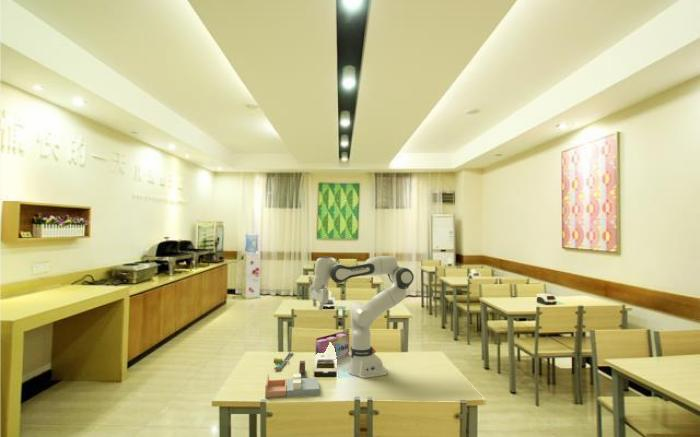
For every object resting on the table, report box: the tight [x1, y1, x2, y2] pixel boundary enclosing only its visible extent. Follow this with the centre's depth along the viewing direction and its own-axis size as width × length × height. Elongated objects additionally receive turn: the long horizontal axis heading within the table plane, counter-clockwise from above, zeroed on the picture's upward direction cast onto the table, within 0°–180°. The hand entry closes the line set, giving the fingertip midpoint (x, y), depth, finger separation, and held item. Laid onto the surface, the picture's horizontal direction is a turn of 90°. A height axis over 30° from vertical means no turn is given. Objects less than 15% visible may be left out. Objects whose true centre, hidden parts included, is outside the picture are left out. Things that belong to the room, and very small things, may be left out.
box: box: [264, 374, 287, 399], centre depth 174 cm, size 10×13×6 cm
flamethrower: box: [273, 351, 294, 371], centre depth 213 cm, size 29×3×10 cm
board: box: [286, 377, 320, 398], centre depth 176 cm, size 16×13×3 cm
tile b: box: [293, 379, 301, 389], centre depth 172 cm, size 4×4×3 cm
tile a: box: [292, 373, 301, 380], centre depth 179 cm, size 4×4×3 cm
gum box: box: [314, 331, 350, 360], centre depth 222 cm, size 24×8×14 cm, turn 133°
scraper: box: [298, 360, 306, 378], centre depth 192 cm, size 3×18×8 cm, turn 9°
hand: (317, 308), depth 198 cm, fingers open, 8 cm apart
